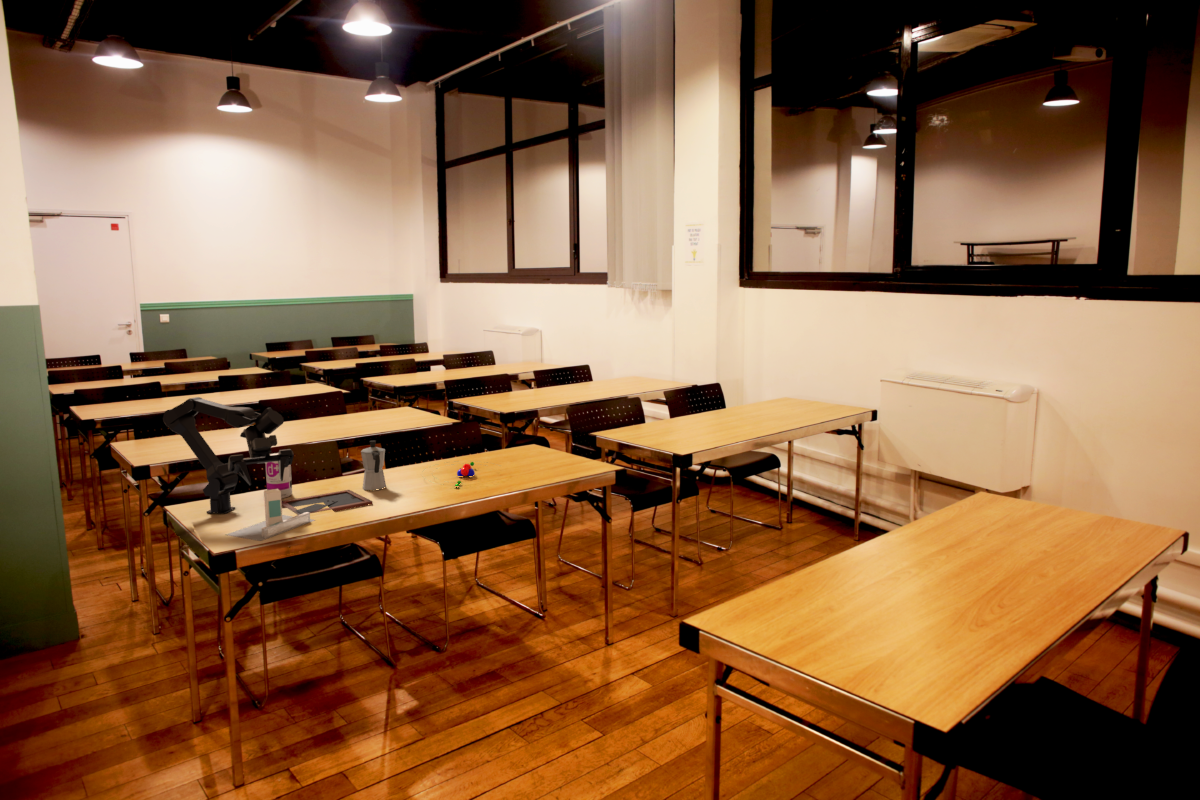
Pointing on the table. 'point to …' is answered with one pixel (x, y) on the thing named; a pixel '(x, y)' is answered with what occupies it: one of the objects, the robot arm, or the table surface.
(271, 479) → the supplement can
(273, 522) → the carton
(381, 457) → the coffee maker
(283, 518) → the shelf board
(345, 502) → the picture frame
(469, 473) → the atom model
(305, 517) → the rail
